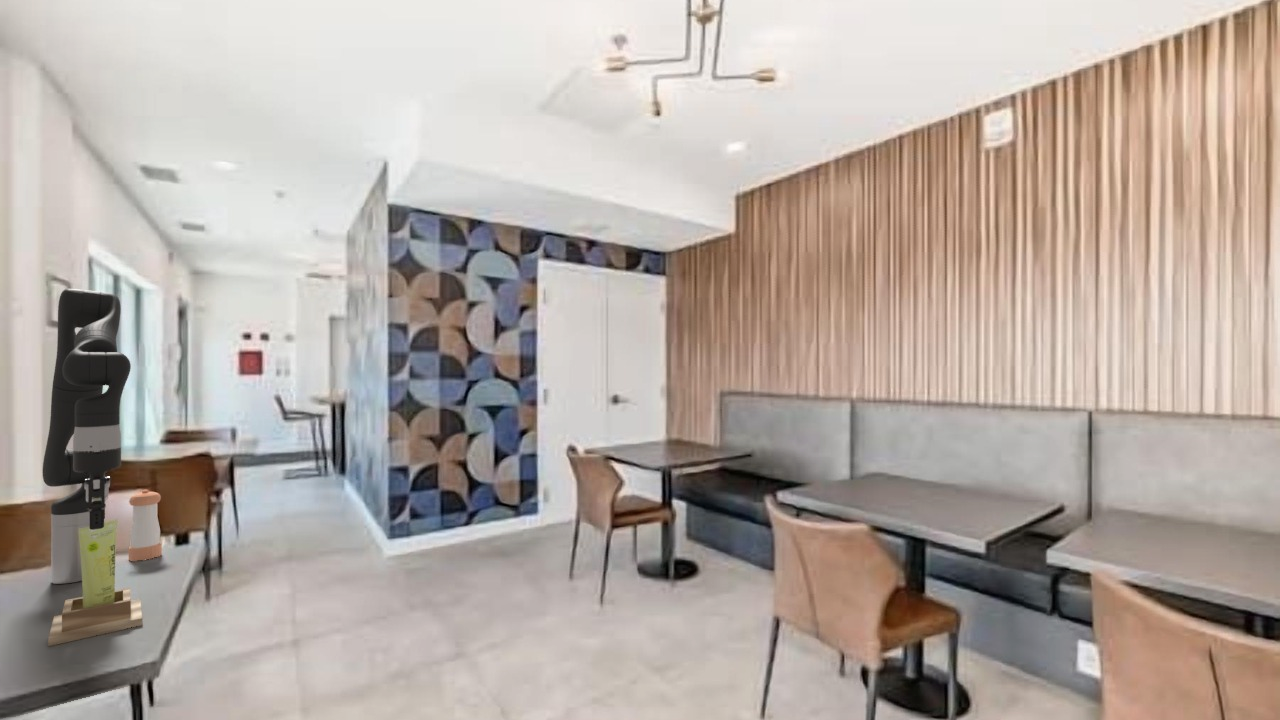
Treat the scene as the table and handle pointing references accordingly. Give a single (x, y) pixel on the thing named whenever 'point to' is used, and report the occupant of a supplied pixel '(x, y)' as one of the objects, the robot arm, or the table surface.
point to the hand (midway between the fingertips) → (97, 524)
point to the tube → (98, 564)
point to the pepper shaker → (145, 526)
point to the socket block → (95, 618)
